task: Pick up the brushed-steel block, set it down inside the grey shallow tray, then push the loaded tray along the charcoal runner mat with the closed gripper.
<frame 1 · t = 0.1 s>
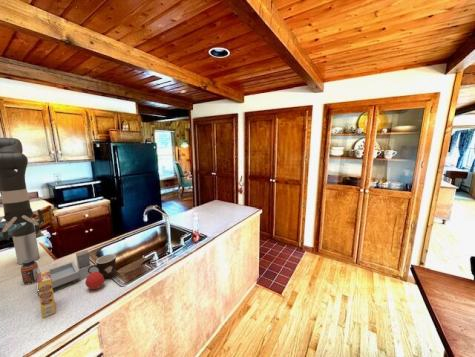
hand: (22, 236, 85), 29 cm above the counter, fingers open, 8 cm apart
runner mat: (72, 277, 102), on the counter
tomato: (96, 287, 95), on the counter
coffee mug: (104, 277, 103), on the counter
grey shallow tray: (58, 274, 98), point 4 cm above the counter, slide at 0.0 cm
supplement bottle: (31, 281, 100), on the counter
candy box: (48, 309, 82), on the counter
steel block: (84, 265, 113), on the counter
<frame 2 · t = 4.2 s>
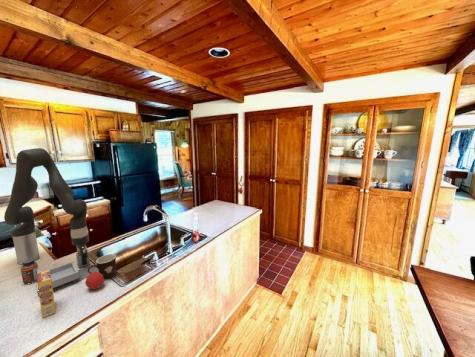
hand: (83, 262, 113), 2 cm above the counter, fingers closed on steel block, 5 cm apart
steel block: (84, 265, 113), on the counter, touching gripper
everything else where it was.
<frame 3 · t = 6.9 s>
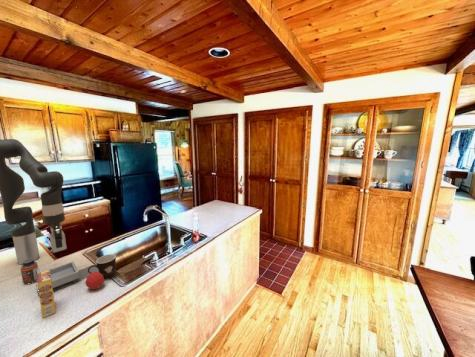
hand: (58, 245, 97), 19 cm above the counter, fingers closed on steel block, 5 cm apart
steel block: (59, 249, 97), point 17 cm above the counter, touching gripper
everything else where it was.
when the fingers open (6 cm above the counter, at t = 9.8 s): steel block drops 1 cm, resting on grey shallow tray.
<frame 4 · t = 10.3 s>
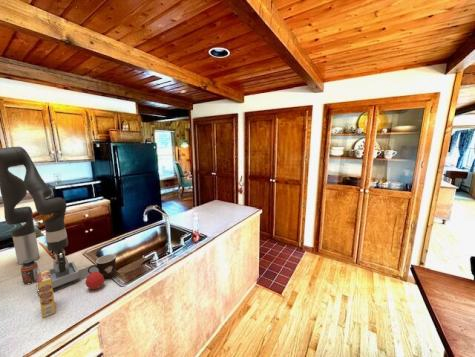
hand: (61, 268, 99), 7 cm above the counter, fingers open, 8 cm apart
grey shallow tray: (58, 274, 98), point 4 cm above the counter, slide at 0.0 cm, touching steel block
steel block: (62, 275, 99), point 3 cm above the counter, touching grey shallow tray
everything else where it was.
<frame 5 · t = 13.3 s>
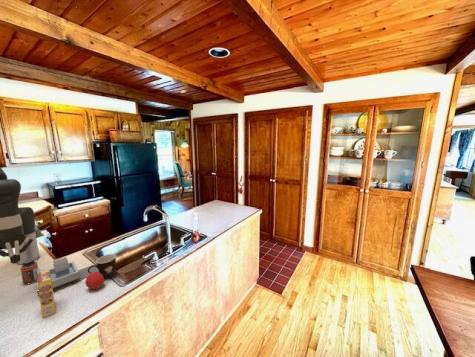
hand: (16, 262, 87), 17 cm above the counter, fingers closed
nothing on the counter moved.
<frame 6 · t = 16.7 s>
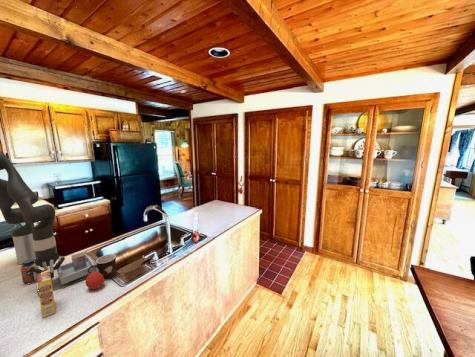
hand: (50, 279, 96), 4 cm above the counter, fingers closed
grey shallow tray: (76, 268, 103), point 4 cm above the counter, slide at 7.1 cm, touching hand, steel block
steel block: (80, 269, 104), point 3 cm above the counter, touching grey shallow tray
everything else where it was.
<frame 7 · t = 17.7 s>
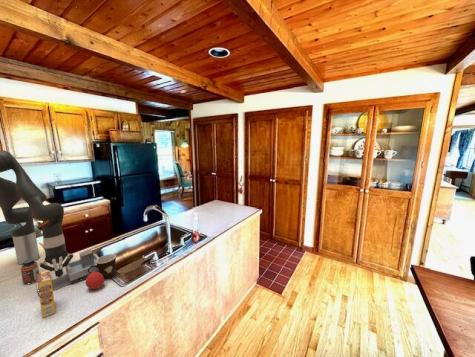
hand: (59, 276, 98), 4 cm above the counter, fingers closed
grey shallow tray: (84, 265, 106), point 4 cm above the counter, slide at 10.4 cm, touching hand, steel block
steel block: (87, 266, 107), point 3 cm above the counter, touching grey shallow tray
everything else where it was.
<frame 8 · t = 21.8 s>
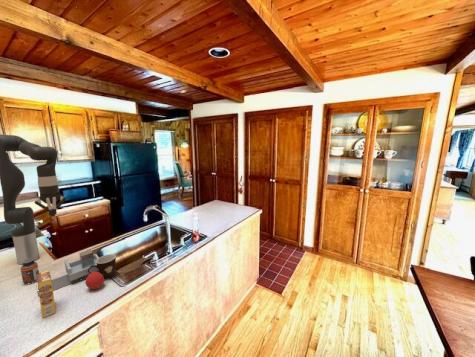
hand: (53, 215, 106), 31 cm above the counter, fingers closed
grey shallow tray: (84, 265, 106), point 4 cm above the counter, slide at 10.4 cm, touching steel block
everything else where it was.
at the end: grey shallow tray slide at 10.4 cm; steel block inside the target area on the grey shallow tray (1.5 cm from its centre), point 3.1 cm above the grey shallow tray's base; steel block tilted 0° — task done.
